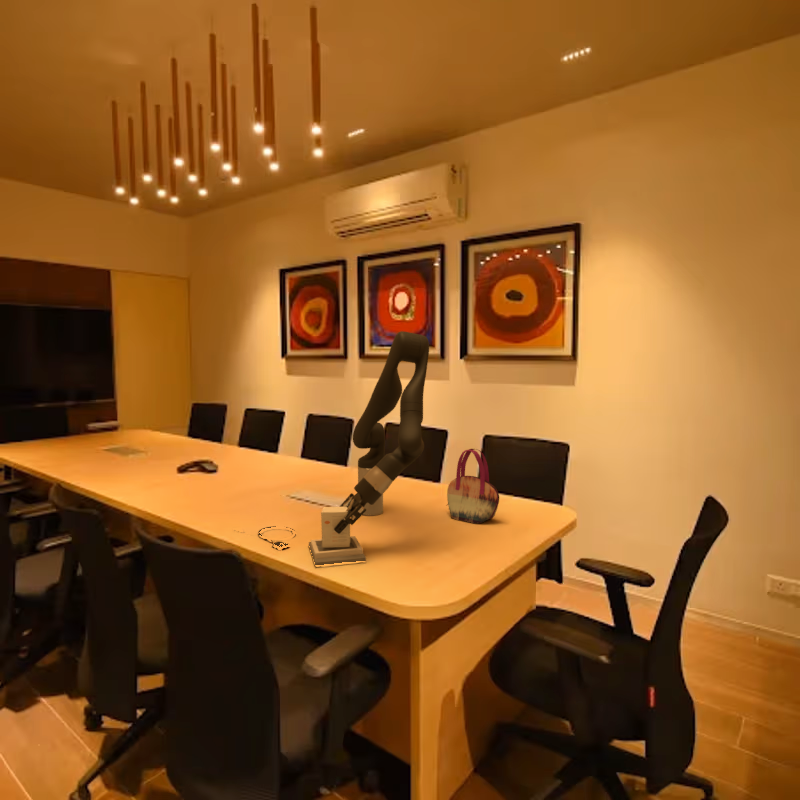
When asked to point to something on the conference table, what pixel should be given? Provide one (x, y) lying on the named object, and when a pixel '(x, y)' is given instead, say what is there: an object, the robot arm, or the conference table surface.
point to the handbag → (472, 492)
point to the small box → (328, 522)
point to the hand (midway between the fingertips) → (334, 527)
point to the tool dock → (336, 552)
